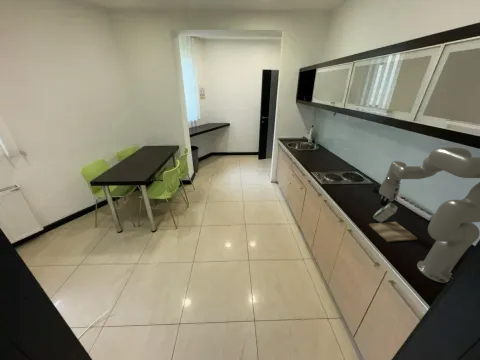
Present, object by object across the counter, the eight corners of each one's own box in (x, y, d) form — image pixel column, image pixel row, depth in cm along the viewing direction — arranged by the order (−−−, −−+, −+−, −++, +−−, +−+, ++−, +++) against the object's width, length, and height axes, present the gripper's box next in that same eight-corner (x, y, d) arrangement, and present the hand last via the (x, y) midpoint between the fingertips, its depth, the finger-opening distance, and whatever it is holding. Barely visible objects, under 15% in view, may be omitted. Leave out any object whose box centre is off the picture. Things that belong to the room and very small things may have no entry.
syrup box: (374, 213, 140) (389, 201, 130) (383, 218, 138) (398, 207, 128) (372, 217, 137) (387, 206, 126) (380, 223, 135) (396, 212, 124)
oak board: (416, 239, 121) (417, 238, 120) (387, 242, 119) (388, 240, 118) (395, 223, 135) (395, 221, 135) (368, 225, 133) (369, 223, 132)
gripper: (408, 185, 119) (396, 210, 127) (388, 175, 132) (379, 199, 140) (397, 186, 118) (386, 211, 126) (378, 176, 131) (369, 199, 139)
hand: (382, 204), depth 133 cm, fingers closed
